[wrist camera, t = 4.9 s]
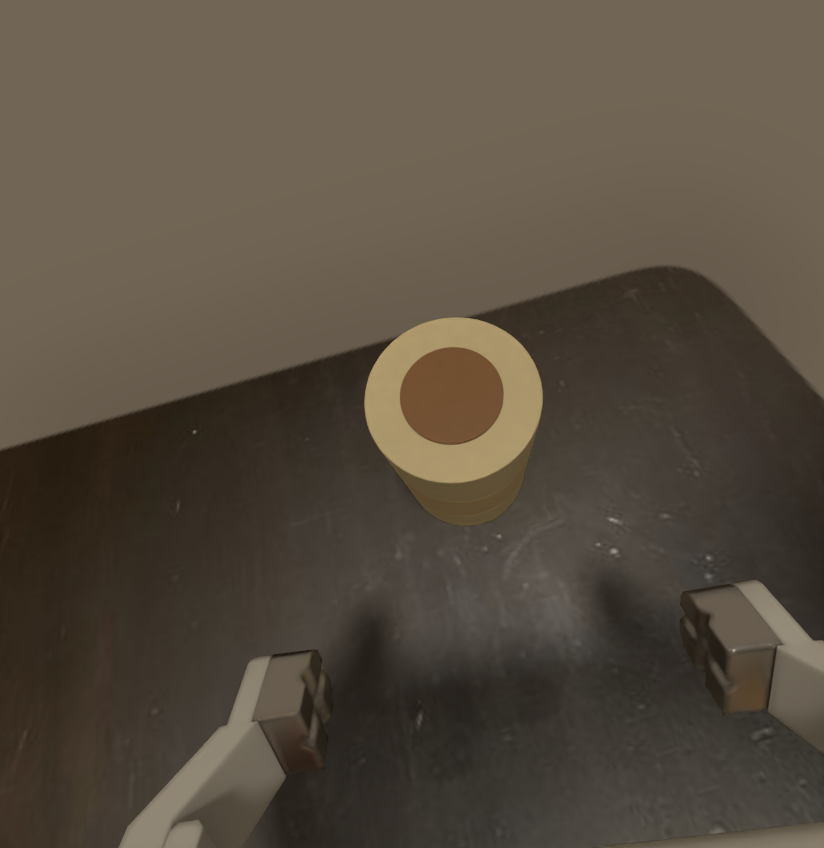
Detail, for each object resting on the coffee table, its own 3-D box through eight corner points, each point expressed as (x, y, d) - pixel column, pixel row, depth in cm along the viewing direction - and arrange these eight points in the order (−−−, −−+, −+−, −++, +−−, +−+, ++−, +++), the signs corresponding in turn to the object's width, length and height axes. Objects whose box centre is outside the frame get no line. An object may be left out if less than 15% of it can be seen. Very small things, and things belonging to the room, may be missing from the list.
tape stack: (475, 394, 24) (468, 283, 16) (547, 479, 23) (583, 407, 14) (387, 458, 24) (330, 380, 15) (453, 550, 22) (430, 520, 14)
